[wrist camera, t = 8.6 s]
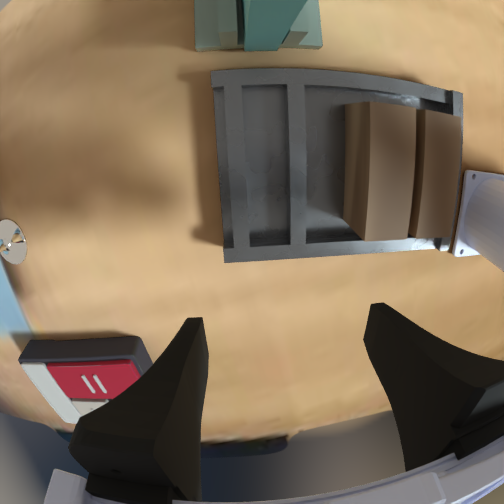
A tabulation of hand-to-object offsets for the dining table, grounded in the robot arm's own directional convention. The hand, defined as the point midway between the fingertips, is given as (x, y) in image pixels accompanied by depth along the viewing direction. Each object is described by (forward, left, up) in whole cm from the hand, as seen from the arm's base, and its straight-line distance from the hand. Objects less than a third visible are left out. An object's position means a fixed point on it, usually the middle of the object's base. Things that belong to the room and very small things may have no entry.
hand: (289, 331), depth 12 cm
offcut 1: (-7, -6, -9) cm, 13 cm away
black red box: (+18, +15, -11) cm, 26 cm away
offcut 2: (-11, -6, -9) cm, 15 cm away
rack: (-5, -6, -10) cm, 13 cm away
